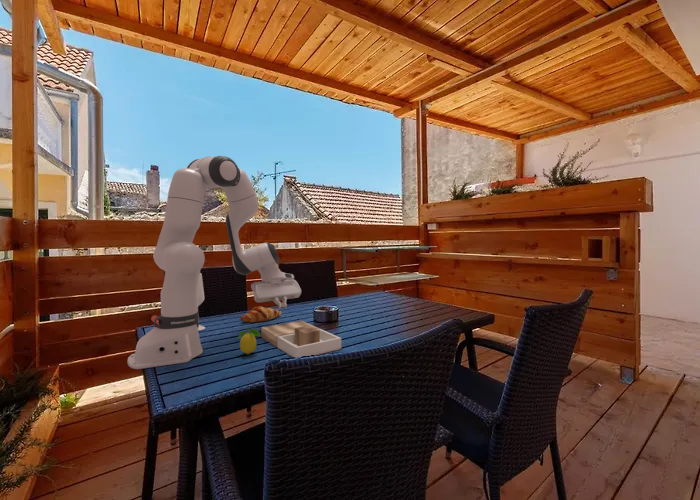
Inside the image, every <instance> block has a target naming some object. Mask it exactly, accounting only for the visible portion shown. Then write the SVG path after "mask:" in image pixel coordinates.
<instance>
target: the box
mask: <svg viewBox="0 0 700 500" xmlns="http://www.w3.org/2000/svg"><path fill="white" fill-rule="evenodd" d="M318 330H320V342H316V343H312V344H307V345H303V346H297V345H296V344H295V333H294V334H289V335H283V336H278V337H277V348H278V349H279V350H280V351H282V352H284V353H285V354H287V355H289V356H290V357H291V358H293V357H302V356H310V357H312V356H311V355H314V356H318V355H322V354H325V353H331V352H334V351H338V350H339V351H340V350H342V337H339V336H338V335H335V334H334V333H330V332H329V331H326V330H325V329H323V328H318Z"/></svg>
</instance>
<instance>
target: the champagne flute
mask: <svg viewBox="0 0 700 500" xmlns="http://www.w3.org/2000/svg"><path fill="white" fill-rule="evenodd" d="M204 301H205V291H204V282H203V275H202V273H201V272H200V275H199V279H198V285H197V312H198V313H199V306H201V305H202V303H203V302H204ZM205 329H206V327H205V326H204V325H201V324H199V327H198V331H202V330H205Z"/></svg>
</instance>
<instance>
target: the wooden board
mask: <svg viewBox="0 0 700 500" xmlns="http://www.w3.org/2000/svg"><path fill="white" fill-rule="evenodd" d="M304 326H311V327H313V328H315V329H319V327H317V326H314V325H313V324H311V323H308V322H305V321H304V320H295V321H290V322H285V323H279V324H274V325H273V324H272V325H267V326H263V327H262V326H261V330H260V331H261V334H260V335H261V336H260V337H261V338H262V339H263V340H265V341H267V343H268V342H269V343H270V344H271V345H273V346H274V347H277V337H278V336H283V335H289V334H294V333H295V328H298V327H304Z"/></svg>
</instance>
